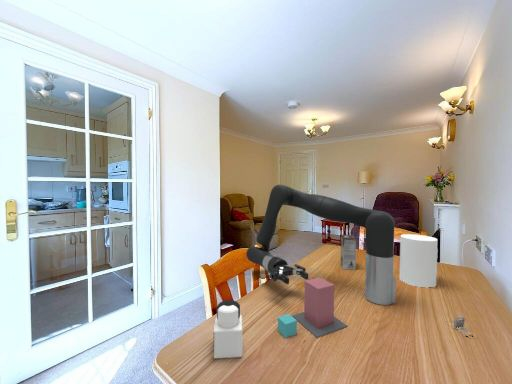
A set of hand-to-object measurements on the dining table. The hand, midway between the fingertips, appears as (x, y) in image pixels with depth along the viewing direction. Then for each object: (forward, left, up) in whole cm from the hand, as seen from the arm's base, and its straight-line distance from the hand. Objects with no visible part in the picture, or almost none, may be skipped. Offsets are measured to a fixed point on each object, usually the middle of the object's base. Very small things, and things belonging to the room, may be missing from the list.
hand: (298, 279), depth 83 cm
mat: (-5, +10, -9) cm, 14 cm away
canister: (-56, -24, -10) cm, 62 cm away
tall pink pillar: (-5, +10, -9) cm, 14 cm away
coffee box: (-31, -41, -10) cm, 53 cm away
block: (+5, +16, -10) cm, 19 cm away
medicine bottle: (+21, +24, -10) cm, 33 cm away
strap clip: (-47, +11, -10) cm, 49 cm away
